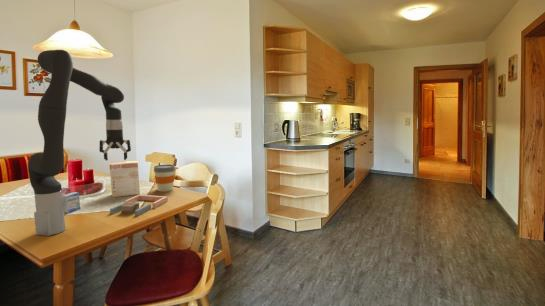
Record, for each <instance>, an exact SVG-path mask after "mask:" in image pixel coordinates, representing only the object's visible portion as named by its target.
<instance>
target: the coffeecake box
mask: <svg viewBox="0 0 545 306" xmlns="http://www.w3.org/2000/svg"><path fill="white" fill-rule="evenodd" d="M109 174H110V177H109V178H110V187H111V197H112V198H117V197H125V196H126V197H127V196H137V195H141V193H140V192H141V191H140V189H141V188H140V187H141V186H140V177H139V163H138V160H131V161H130V160H129V161H118V162H117V161H115V162H110V163H109Z"/></svg>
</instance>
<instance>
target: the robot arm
mask: <svg viewBox="0 0 545 306" xmlns="http://www.w3.org/2000/svg"><path fill="white" fill-rule="evenodd" d="M37 63H38V65H39V66H40V68H41V69H42V70H43V71H44V72H46V73H49V74H51V76H50V82H49V84H48V86H47V89H46V90H45V91H44V93H43V95H42V97H41V98H40V101H39V104H38V110H37V111H38V112H37V123H38V126H39V128H40V130H41V133H42V136H43V141H44V142H43V144H44V145H43V151H42V152H35V153H34V154H32V155H31V156H30V157H29V158H28V162H27V169H28V170H27V171H28V175H29V183H30V186H31V187H32V190H33V195H34V201H35V212H34V213H33V218H34V224H35V233H36V235H37V236H47V237H49V236H52V235H56V234H59V233H62V232H64V231H65V230H66V219H65V213H64V208H63V198H62V195H63V190H62V188H63V187H62V184H61V183H60V181H58V180H57V179H56V178H55V176H57V175H59V174H60V173H61V172H62V170H63V168H64V163H65V157H64V156H65V154H64V137H65V127H66V124H65V123H66V117H67V106H68V104H67V103H68V95H69V88H70V82H71V83H74V84H75V85H78V86H80V87H81V88H84V89H85V90H86V91H89V92H91V93H93V94H94V95H96V96H100V97H101V102H102V105H103V107H104V110H105V119H106V120H105V133H106V138H105V140H103V139H100V140H99V152H100V153H103V160H105V161H108V159H109V158H108V151H109V150H110V149H113V150H114V149H116V150H117V149H121V150H122V152H123V159H124V161H126V160H127V159H128V153H129V152H131V151H132V147H131V140H130V139H124V131H123V130H124V129H123V121H122V110H121V109H120V108H119V107H116V105H115V104H120V103H122V102H123V101H124V99H125V94H124V92H123V91H122V90H121V88H118V87H117V86H113V85H112V84H109V83H106V82H104V81H103V80H101V79H99V78H98V77H96V76H94V75H93V74H90V73H88V72H85V71H82V70H79V69H77V68H76V67H75V68H74V60H73V58H72V55H71V54H70V52H68V51H67V50H64V49H49V50H43V51H41V52H40V53H39V54H38V55H37ZM124 143H125V145H127V146H126V147H127V149H126V148H125V146H124ZM105 144H106V145H107V147H106V148H105V149H104V145H105Z"/></svg>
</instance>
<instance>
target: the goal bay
mask: <svg viewBox="0 0 545 306" xmlns="http://www.w3.org/2000/svg"><path fill="white" fill-rule="evenodd" d="M139 201H147V202H148V201H151V202H152V205H151V206H152V208H153V209H156V208H158V207H160V206H161V205H164V204H165V203H167V202H168V201H169V197H168V196H164V195H163V196H162V195H148V194H138V195H133V197H130V198H128V199H126V200H124V201H123V203H124V202H127V203H128V202H135V203H137V202H139Z"/></svg>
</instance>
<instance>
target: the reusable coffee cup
mask: <svg viewBox="0 0 545 306" xmlns="http://www.w3.org/2000/svg"><path fill="white" fill-rule="evenodd" d="M175 167H176V166H175V164H157V165H155V166H153V172H154V180H155V183H156V186H157V191H159V192H170V191H172V190H174V182H175V178H176V177H175V176H176V174H175V170H176V168H175Z"/></svg>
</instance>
